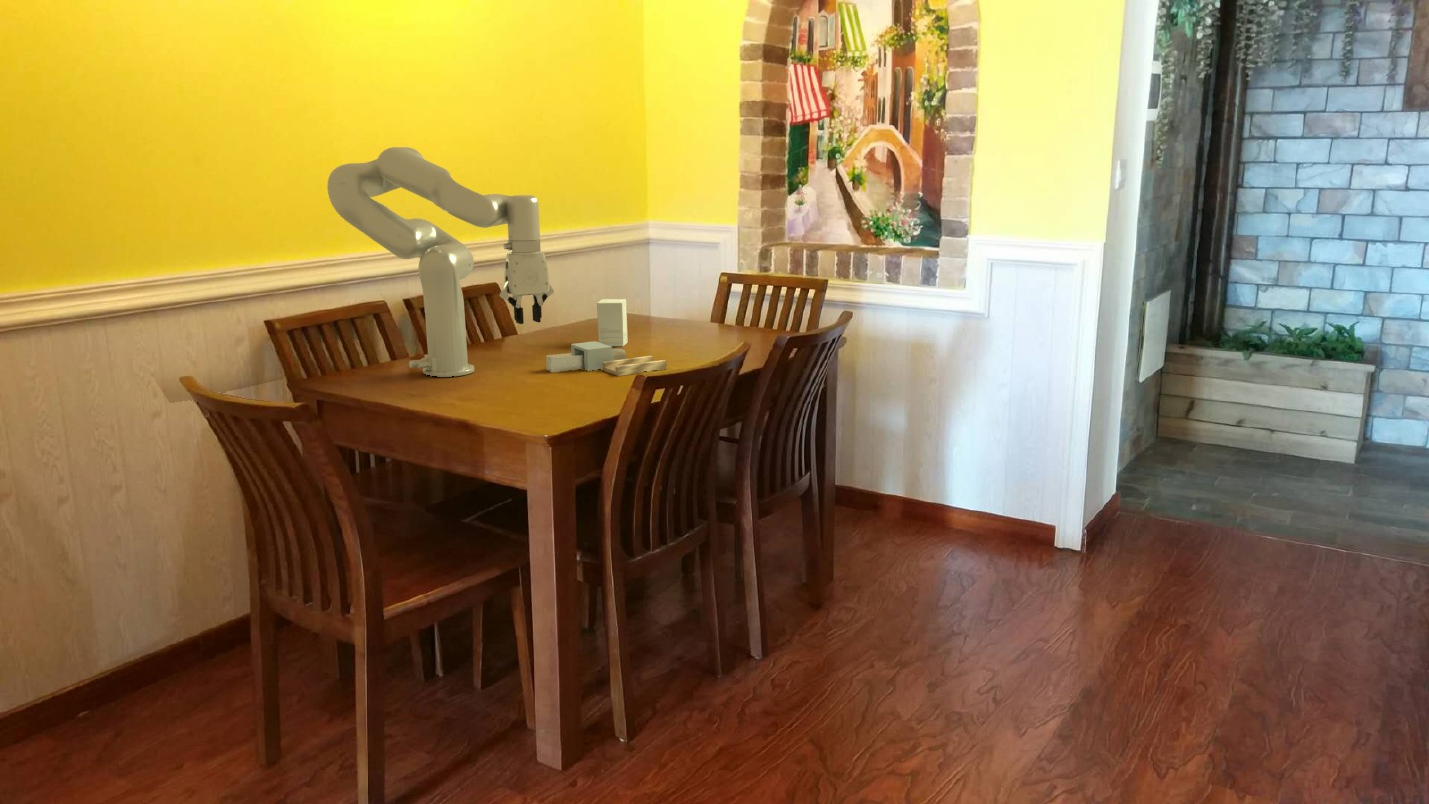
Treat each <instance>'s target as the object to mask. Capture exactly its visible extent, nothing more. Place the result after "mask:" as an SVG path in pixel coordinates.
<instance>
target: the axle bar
mask: <svg viewBox="0 0 1429 804" xmlns="http://www.w3.org/2000/svg"><path fill="white" fill-rule="evenodd" d="M545 357H546V358H545V359H546V370H547V371H548V370H549V372H550V373H552V372H553V373H561V371H562V372H569V371H568V370H572V371H576V370H575V369H582V370H585V369H584V368H585V367H584V352H577V353H571V352H569V353H559V354H558V353H557V354H556V353H555V354H549V355H547V354H546V355H545ZM612 358H613V361H614V360H622V359H627V351H626V350H624V348H623V349H622V348H621V347H619V348H612Z"/></svg>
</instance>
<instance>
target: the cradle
mask: <svg viewBox="0 0 1429 804" xmlns="http://www.w3.org/2000/svg"><path fill="white" fill-rule="evenodd" d="M664 369H665V370H667V369H668V365H667V360H665V359H663V360H661V359H660V360H654V356H653V355H647V356H638V357H631V358H626V359H622V360H614V361H607V362H603V369H602V371H603V370H604V372H606V373H609V374H611V375H614V376H616V377H620V376H628V375H629V376H630V375H636V374H643V373H645V372H643V371H647V372H646V373H651V372H652V371H651V370H658V371H663V370H664ZM665 370H664V371H665Z"/></svg>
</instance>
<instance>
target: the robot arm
mask: <svg viewBox="0 0 1429 804" xmlns="http://www.w3.org/2000/svg"><path fill="white" fill-rule="evenodd" d="M327 179H328V180H327V188H326V189H327V194H328V198H329V201H330V203H331V206H332V207H333V209H334V210H335V211H336V213H337V214H338V215H339V216H340V217H341V218H342V219H343V220H344V221H346V222H347V223H348V224H349V225H351V226H352V227H354V228H355V229H356V230H358V231H359V232H362V233H363V234H364V235H366V236H367V237H368V238H370V239H371V240H372V241H374V242H375V243H377V244H378V245H380V246H381V247H383V248H384V249H385V250H387V251H388V252H390V253H391V254H392V255H395V256H396V257H397V258H399V259H402V260H411V259H415V258H419V261H418V275H419V280H420V281H419V282H420V283H421V284H420V285H421V289H422V297H423V307H424V314H425V315H424V317H425V330H426V345H427V354H424V355H423V356H424V357H422V358H421V359H412V360H408V366H409V368H410V369H422V374H423V373H424V374H426V375H425V376H427V375H430V376H429V377H432V376H437V377H436V378H452V376H454V377H460V376H465V375H469V374H472V373H474V372H475V365H473V364H470V363H468V360H469V359H468V349H467V348H468V346H467V332H466V318H465V317H466V316H465V314H466V313H465V301H464V294H463V290H462V286H461V282H460V280H463V279H465V278H466V277H468V276H469V275H470V274H471V273H472V271H473V269H474V265H475V264H474V263H475V260H474V256H473V253H472V252H471V250H470V249H469V248H468V247H467V245H465V244H464V243H462V242H461V241H459V240H458V239H457V238H456V237H454V236H453V235H451V234H449V233H448V232H446V231H445V230H443V229H442V228H441V227H439V226H438V225H436V224H434V223H433V222H431V221H429V220H426V219H423V218H410V219H409V218H405V217H403V216H401V215H399V214H397V213H396V212H394V211H393V210H392V209H390V208H389V207H387V206H386V205H384V204H383V203H380V202H378V201H377V200H374V199H372V198H375V197H378V196H381V195H383V194H386V193H389V192H392V191H394V190H397V189H400V188H401V189H404V190H406V191H408V192H409V193H412V194H415V195H417V196H419V197H421V198H423V199H426V201H428V202H429V201H430V202H431V203H433V204H434V205H435V206H436V207H438V208H440V209H441V210H442V211H444V212H445V213H447V214H449V215H451V216H453V218H454V217H455V218H457V219H459V220H461V221H463V222H465V223H468V224H469V225H472V226H474V227H477V228H483V229H485V228H488V229H489V228H492V227H496V226H503V225H507V233H508V234H507V235H508V240H507V242H506V243H503V245H502V246H503V249H504V250H507V251H508V253H506V256H505V263H504V285H503V287H502V289H501V291H500V292H499V297H500V298H501V299H503V300H505V301H507V302H508V303H509V304H510V305H511V306H512V307H513V315H514V316H513V319H514V321H515V322H516V323H517V324H519V325H523V324H524V323H525V322H524V308H523V307H522V297H523V296H532V299H533V304H532V306H531V309H532V310H531V311H532V321H534V322H536V323H541V320H542V313H543V312H542V306H543V305H544V303H545V301H546V300H547V299H548V298H549V297H550V296H551V295H552V294H554V293H555V291H554V289H553V288H552V286H551V285H550V276H549V270H548V269H549V268H548V263H547V258H546V255H545V252H544V251H543V252H542V251H541V250H542V249H541V231H540V230H541V229H540V209H539V206H540V205H539V199H538V198H537V197H536V196H534V195H532V194H531V195H530V194H528V195H527V194H518V195H517V194H516V195H515V194H514V195H507V194H506V195H505V194H500V193H499V194H498V193H491V194H490V193H489V194H484V195H483V194H481V193H479V192H476V191H475V190H472V189H470V188H467V187H466V186H463V185H462V184H460V183H459V182H457V181H456V180H454V179H453V178H452V176H451V173H450V172H449V170H447V169H446V168H444V167H441V166H439V165H438V164H435V163H433V162H431V161H430V160H429V161H428V160H426V159H425V158H424V156H423V155H422V153H420V152H419V150H417V149H414V148H412V147H406V146H397V147H396V146H393V147H388V148H386V149H384V150H383V151H382V152H380V154H379V155H378V157H377V158H376V159H374V160H371V161H368V162H356V163H355V162H354V163H351V162H350V163H345V164H341V165H339V166H337V167H335V168H334V169H333V170H332V171H331V172H330V173H329V175H328V178H327ZM510 295H512V296H510ZM424 374H423V375H424Z"/></svg>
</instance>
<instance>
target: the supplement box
mask: <svg viewBox="0 0 1429 804" xmlns="http://www.w3.org/2000/svg"><path fill="white" fill-rule="evenodd" d="M596 311H597V334H598V342H599V343H602V344H605V345H608V346H611V347H625V345H627V343H628V342H629V341H628V320H627V319H628V317H627V315H628V314H627V311H628V310H627V298H623V299H621V298H619V299H618V298H602V299H600V300H599V301H598V302H596Z"/></svg>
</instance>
